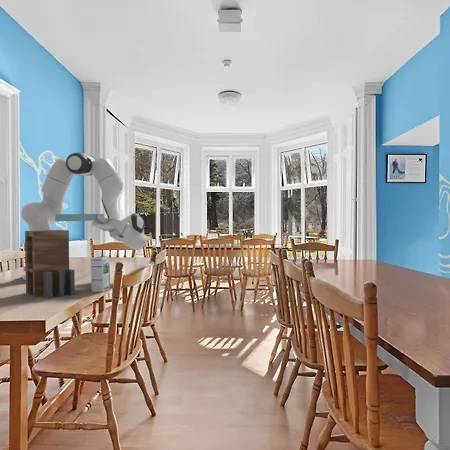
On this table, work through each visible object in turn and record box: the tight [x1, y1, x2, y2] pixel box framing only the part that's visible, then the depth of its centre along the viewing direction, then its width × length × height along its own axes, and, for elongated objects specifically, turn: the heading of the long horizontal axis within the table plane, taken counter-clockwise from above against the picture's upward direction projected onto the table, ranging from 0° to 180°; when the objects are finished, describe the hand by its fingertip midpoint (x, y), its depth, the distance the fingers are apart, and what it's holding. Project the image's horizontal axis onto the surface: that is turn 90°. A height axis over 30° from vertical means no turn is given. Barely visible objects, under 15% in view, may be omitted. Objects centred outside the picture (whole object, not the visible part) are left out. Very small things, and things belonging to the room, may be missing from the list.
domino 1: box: [42, 271, 53, 299], centre depth 150 cm, size 2×5×10 cm, turn 46°
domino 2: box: [54, 270, 65, 297], centre depth 153 cm, size 2×5×10 cm, turn 46°
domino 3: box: [65, 268, 76, 296], centre depth 156 cm, size 2×5×10 cm, turn 47°
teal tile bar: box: [55, 213, 105, 222], centre depth 169 cm, size 3×21×3 cm, turn 136°
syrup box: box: [90, 255, 111, 293], centre depth 163 cm, size 6×6×14 cm
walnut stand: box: [24, 229, 70, 297], centre depth 159 cm, size 10×14×26 cm
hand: (94, 216), depth 174 cm, fingers closed on teal tile bar, 3 cm apart
